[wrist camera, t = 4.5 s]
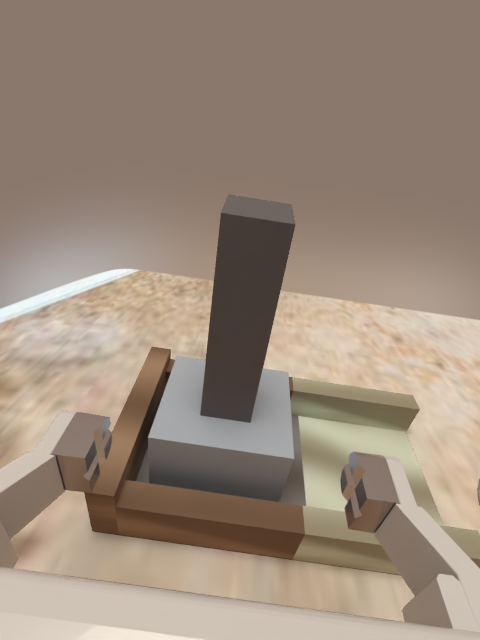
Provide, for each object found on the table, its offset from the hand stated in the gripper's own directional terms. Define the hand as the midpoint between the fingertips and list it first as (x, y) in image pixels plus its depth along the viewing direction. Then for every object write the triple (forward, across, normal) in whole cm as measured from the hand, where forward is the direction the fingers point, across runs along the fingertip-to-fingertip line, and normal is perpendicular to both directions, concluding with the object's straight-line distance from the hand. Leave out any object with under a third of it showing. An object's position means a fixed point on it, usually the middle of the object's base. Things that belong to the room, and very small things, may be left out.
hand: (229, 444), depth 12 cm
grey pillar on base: (+8, 0, +12) cm, 14 cm away
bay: (+8, -5, +12) cm, 15 cm away
